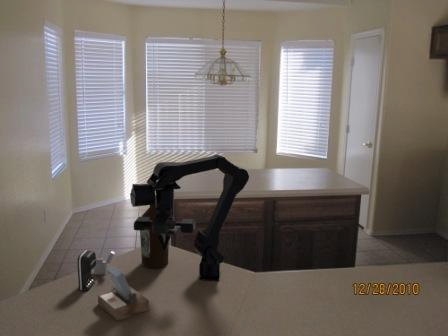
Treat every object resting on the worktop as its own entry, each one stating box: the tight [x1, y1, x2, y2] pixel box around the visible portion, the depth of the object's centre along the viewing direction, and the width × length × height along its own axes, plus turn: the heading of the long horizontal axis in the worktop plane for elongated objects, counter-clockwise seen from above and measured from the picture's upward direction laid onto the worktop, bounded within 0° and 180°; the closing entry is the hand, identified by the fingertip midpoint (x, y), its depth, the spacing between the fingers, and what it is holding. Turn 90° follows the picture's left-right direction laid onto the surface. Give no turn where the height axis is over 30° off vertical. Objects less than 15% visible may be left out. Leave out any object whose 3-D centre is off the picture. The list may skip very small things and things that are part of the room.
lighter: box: [93, 250, 116, 275], centre depth 154 cm, size 7×2×8 cm, turn 91°
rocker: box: [107, 265, 132, 301], centre depth 131 cm, size 2×6×10 cm, turn 40°
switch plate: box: [100, 292, 126, 309], centre depth 130 cm, size 4×9×1 cm, turn 41°
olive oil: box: [139, 198, 170, 270], centre depth 161 cm, size 11×11×25 cm
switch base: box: [97, 284, 150, 322], centre depth 132 cm, size 10×12×5 cm
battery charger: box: [76, 249, 97, 291], centre depth 144 cm, size 7×4×11 cm, turn 174°
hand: (164, 250), depth 145 cm, fingers closed
